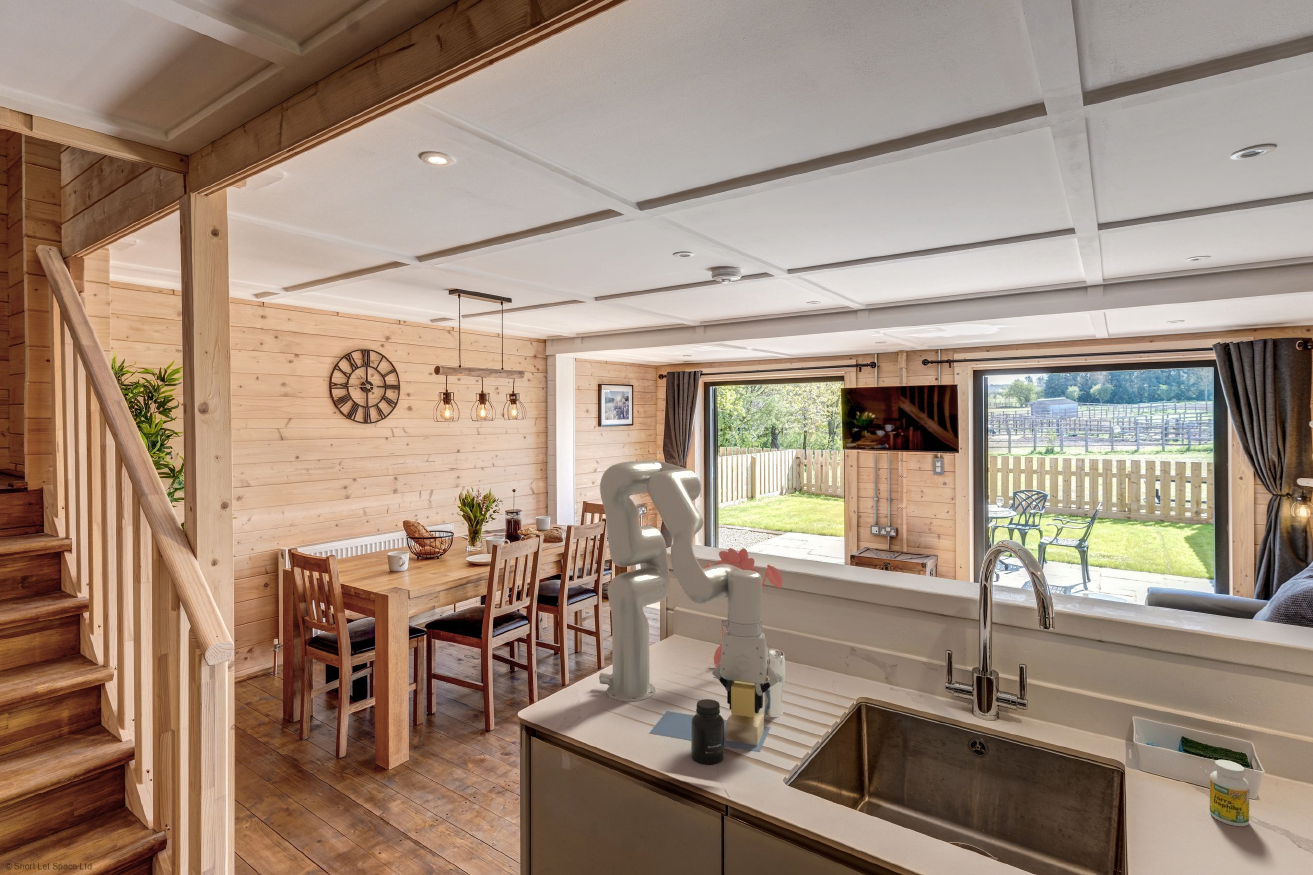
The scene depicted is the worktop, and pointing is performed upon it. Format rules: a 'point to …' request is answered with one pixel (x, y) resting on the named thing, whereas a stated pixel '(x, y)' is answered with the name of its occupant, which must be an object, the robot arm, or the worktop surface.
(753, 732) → the beech base block
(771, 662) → the beer glass
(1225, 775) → the supplement bottle
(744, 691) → the mustard block
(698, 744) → the supplement bottle
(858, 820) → the worktop surface
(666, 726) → the board
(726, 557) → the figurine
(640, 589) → the robot arm
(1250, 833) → the worktop surface
